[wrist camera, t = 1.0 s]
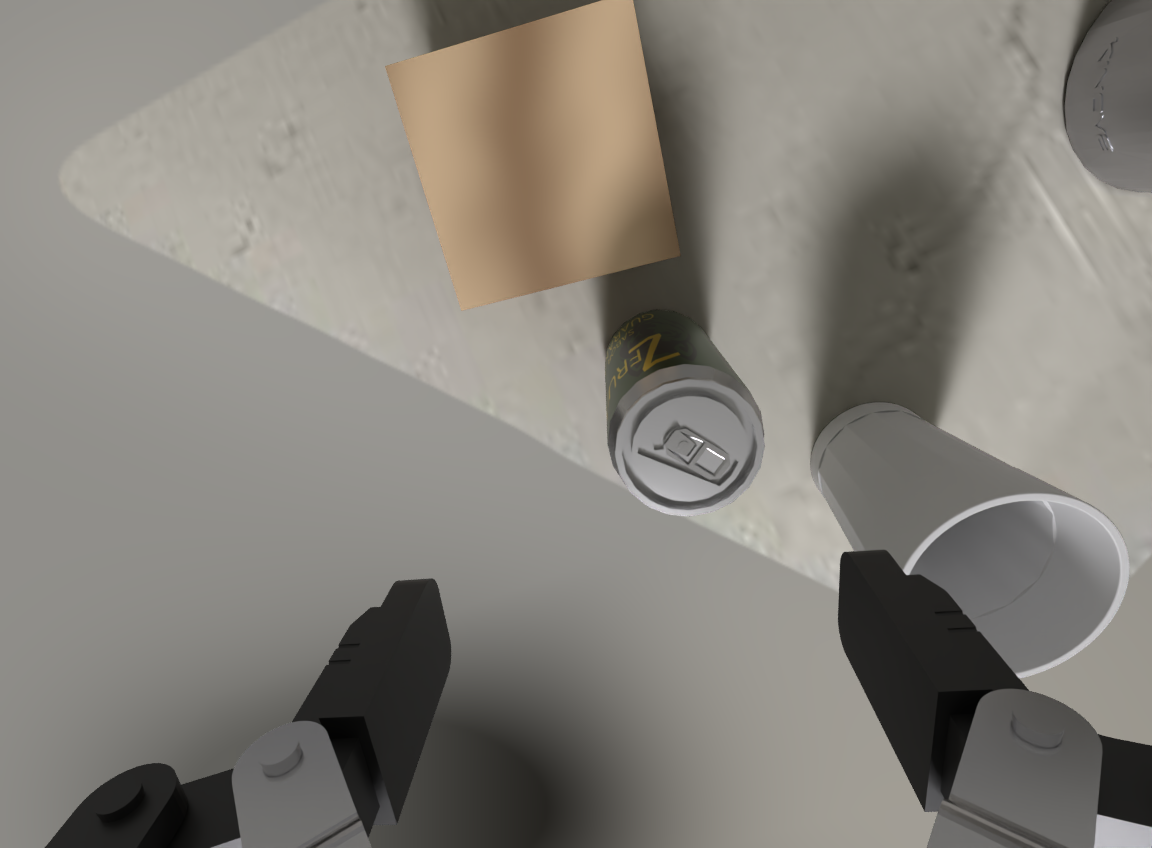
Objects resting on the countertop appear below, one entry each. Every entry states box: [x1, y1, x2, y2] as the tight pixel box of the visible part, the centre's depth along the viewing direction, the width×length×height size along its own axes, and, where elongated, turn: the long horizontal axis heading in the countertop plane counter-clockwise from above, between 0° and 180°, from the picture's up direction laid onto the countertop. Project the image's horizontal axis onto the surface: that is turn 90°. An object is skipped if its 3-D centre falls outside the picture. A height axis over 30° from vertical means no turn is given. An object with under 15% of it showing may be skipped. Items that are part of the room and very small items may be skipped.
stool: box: [385, 0, 681, 311], centre depth 26 cm, size 9×9×6 cm
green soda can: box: [605, 310, 765, 516], centre depth 26 cm, size 5×5×12 cm
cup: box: [810, 402, 1130, 678], centre depth 28 cm, size 8×8×12 cm
